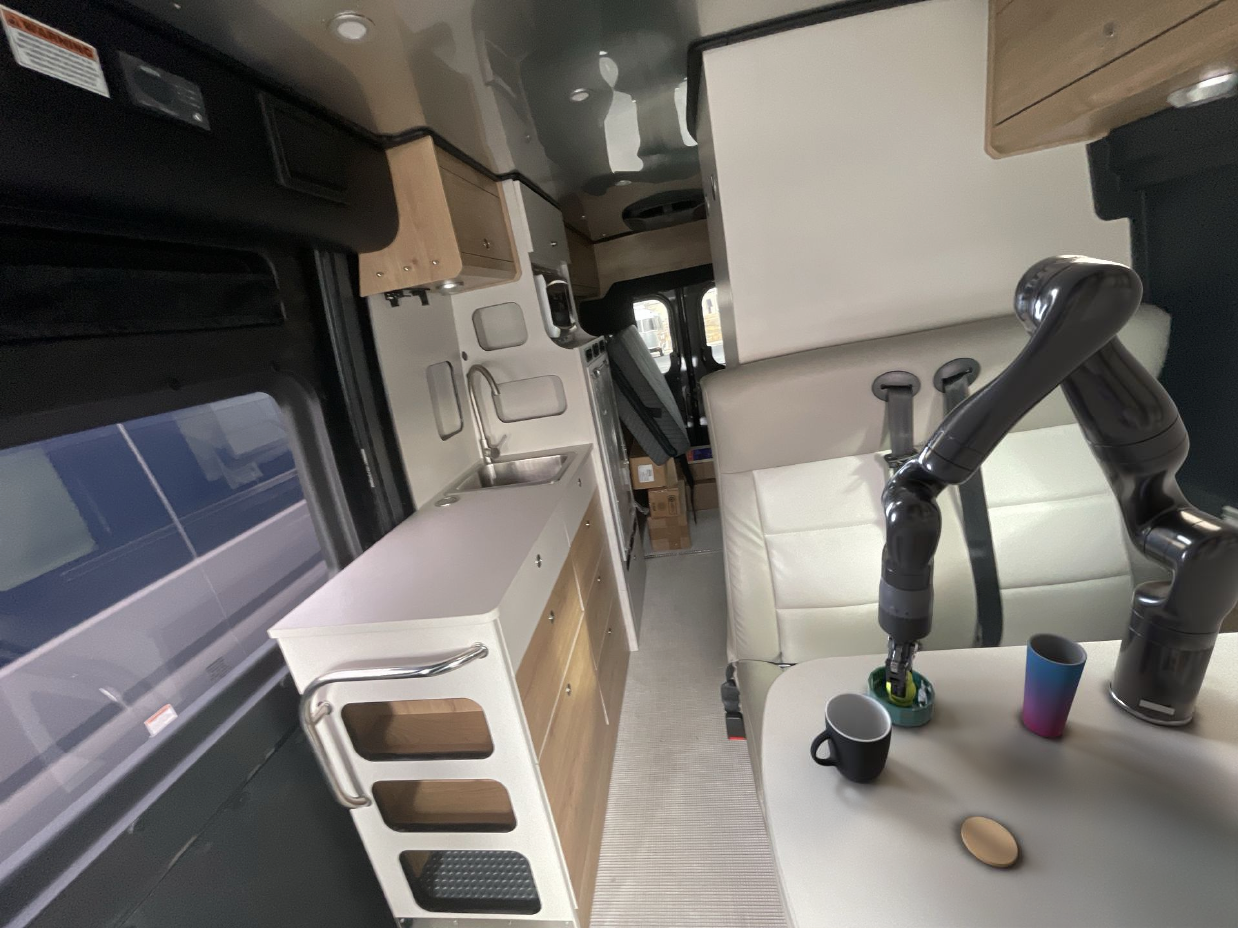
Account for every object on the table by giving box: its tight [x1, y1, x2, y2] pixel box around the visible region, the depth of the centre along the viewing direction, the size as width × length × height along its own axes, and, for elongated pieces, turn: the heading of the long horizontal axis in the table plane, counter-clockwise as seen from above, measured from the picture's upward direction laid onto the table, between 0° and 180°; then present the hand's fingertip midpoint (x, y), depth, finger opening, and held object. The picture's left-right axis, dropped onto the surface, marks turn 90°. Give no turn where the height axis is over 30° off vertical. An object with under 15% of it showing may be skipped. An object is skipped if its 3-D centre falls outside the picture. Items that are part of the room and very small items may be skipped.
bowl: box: [866, 665, 936, 728], centre depth 89 cm, size 10×10×4 cm
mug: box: [809, 692, 893, 784], centre depth 79 cm, size 12×9×10 cm
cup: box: [1021, 632, 1088, 739], centre depth 80 cm, size 7×7×15 cm
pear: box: [886, 671, 916, 707], centre depth 88 cm, size 4×4×8 cm
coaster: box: [960, 816, 1019, 868], centre depth 69 cm, size 6×6×1 cm
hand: (901, 685), depth 89 cm, fingers closed on pear, 4 cm apart
